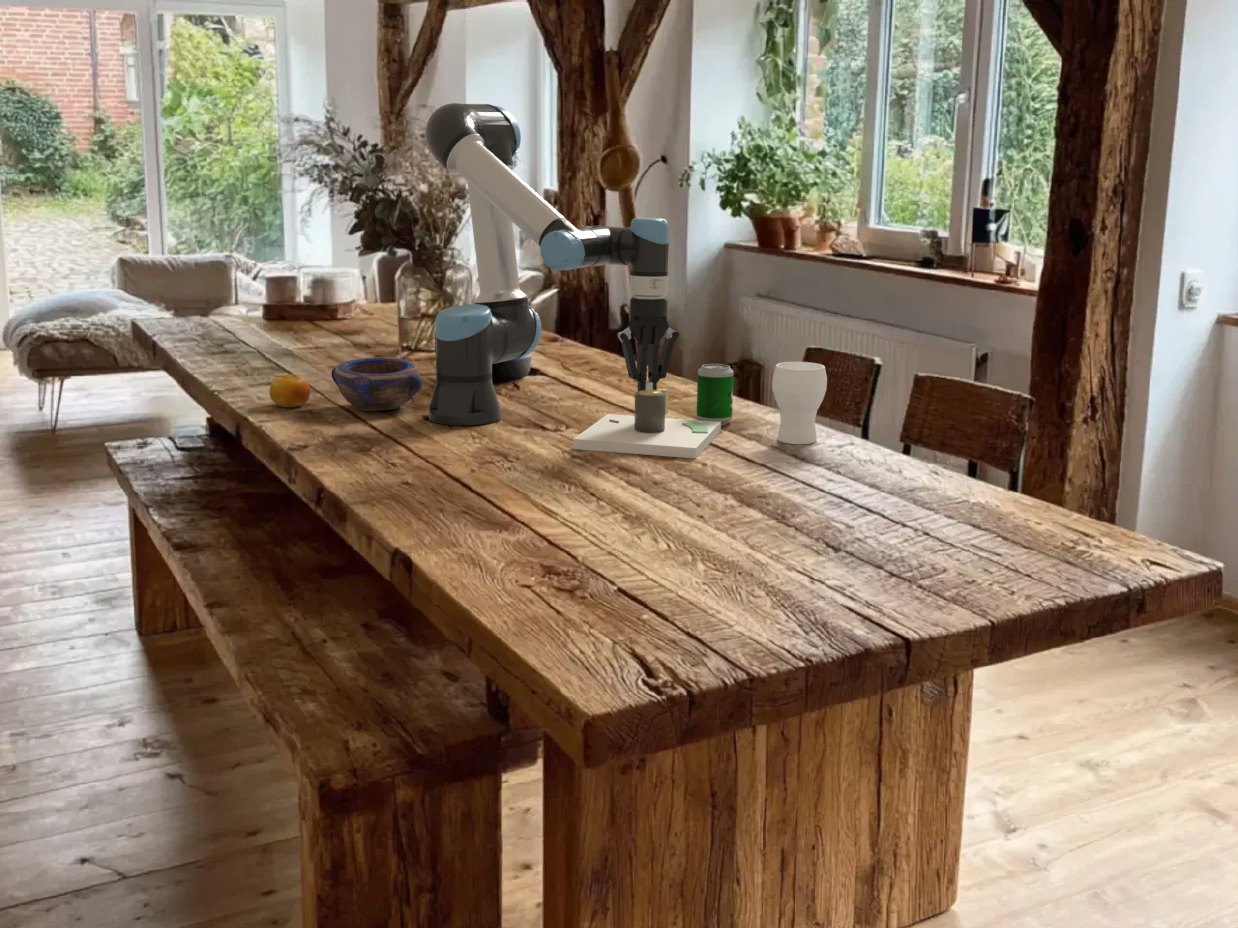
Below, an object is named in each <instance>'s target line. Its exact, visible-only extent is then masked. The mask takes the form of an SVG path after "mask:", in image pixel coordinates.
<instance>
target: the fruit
mask: <svg viewBox="0 0 1238 928" xmlns="http://www.w3.org/2000/svg"><path fill="white" fill-rule="evenodd" d="M310 386H311V385H310V384H309V382H308V381H307V380H306V378H305V377H303V376H301V375H299V374H285V375H281V376H278V377H277V378H275V379H274V380H273V381H272V383H271V385H270V387H269V396H270V399H271V401H272V402H273V403H274V404H276V405H277V406H278V407H281V408H287V407H289V408H298V406H299V407H303V406H304V405H305V404H306V403H307V402H308V400H309V399H310V395H311V387H310Z"/></svg>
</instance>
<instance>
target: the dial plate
mask: <svg viewBox="0 0 1238 928" xmlns="http://www.w3.org/2000/svg"><path fill="white" fill-rule="evenodd" d="M634 420H635V415H628V414H627V415H626V414H613V413H607V414H606V415H605V416H602V418H600V419H599V420H598V421H596V422H595V423H593V424H592V425H591V426H589V427H587V429H585V430H583V431H581V433H579V434H578V435H577V436H575V437H574V438H573V442H572V443H573V444H572V445H573V446H572V447H573V448H572V449H573V450H580V451H581V450H582V451H594V452H595V451H596V452H608V453H619V454H632V455H634V454H635V455H646V456H659V457H660V456H661V457H670V458H671V457H672V458H673V457H675V458H684V459H697V458H698V457H699V456H700V454H702V452H703V451H704V450H705V449H707V447H708V446H709V445H710V444H711V443H712V442H713V440H714V439H715V438H717V437H718V435H719V434H720V433H721V432H722V425H721V422H716V421H702V420H698V419H685V418H672V417H671V418H670V417H665V429H664V430H663V431H658V432H643V431H638V430H635V429H634Z"/></svg>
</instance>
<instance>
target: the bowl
mask: <svg viewBox="0 0 1238 928" xmlns="http://www.w3.org/2000/svg"><path fill="white" fill-rule="evenodd" d="M330 375H331V378H332V380H333V382H334V383H335V385H336V386H337V387H338V390H339V392H340V394H341V395H342V396H343V398H344V399H345V400H346V401H347V403H349V404H350V405H352V406H353V407H354V408H356V409H358V410H360V411H368V412H375V411H386V410H387V411H388V410H396V409H399V408H400V407H402V406H404V405H406V403H408V402H409V401H410V400H411V399H413V397H414V396H415V395H416V394H417V393H419V391H420V390H421V389H422V388H423V386H424V383H423V382H424V381H423V377H422V376H421V374H420V373H419V369H418V367H417V365H415V363H414V362H411V361H409V360H406V359H401V358H397V357H389V356H388V357H386V356H383V357H382V356H381V357H380V356H379V357H378V356H377V357H363V358H362V357H361V358H355V359H350V360H346V361H343V362H341V363H339V364H337V365H336V366H335V367H333V368H332V370H331V373H330Z"/></svg>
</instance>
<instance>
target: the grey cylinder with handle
mask: <svg viewBox="0 0 1238 928" xmlns="http://www.w3.org/2000/svg"><path fill="white" fill-rule="evenodd" d="M668 413H669V388H657V390H641V391H639V392H638V391H636V392H635V393H634V416H635V420H634V429H635V430H638V431H643V432H658V431H663V430H664V429H665V418H666V415H668Z"/></svg>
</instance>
